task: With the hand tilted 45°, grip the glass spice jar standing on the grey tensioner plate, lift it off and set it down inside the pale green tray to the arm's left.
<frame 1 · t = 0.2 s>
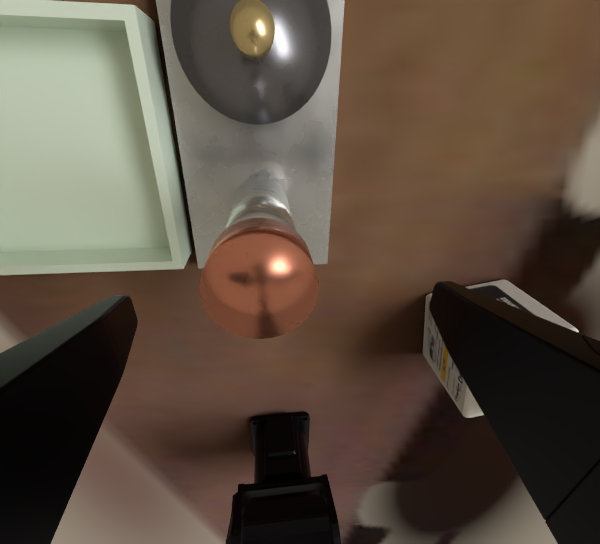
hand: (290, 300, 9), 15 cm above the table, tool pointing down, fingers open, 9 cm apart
container: (459, 316, 30), on the table
tray: (63, 154, 19), on the table
glass spice jar: (261, 202, 21), point 1 cm above the table, touching tensioner plate
tensioner plate: (258, 139, 20), on the table
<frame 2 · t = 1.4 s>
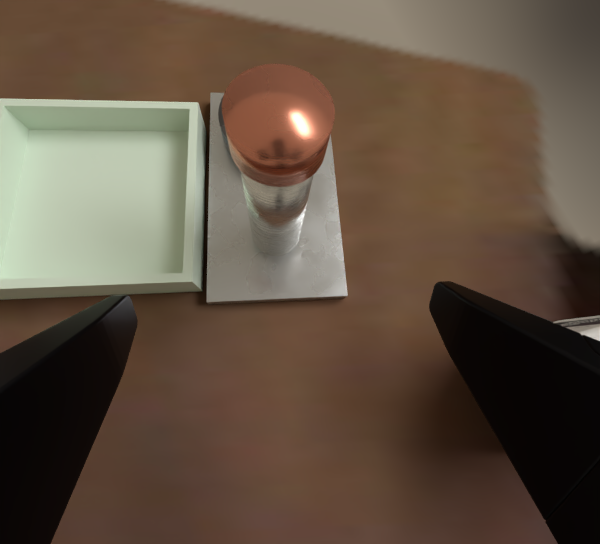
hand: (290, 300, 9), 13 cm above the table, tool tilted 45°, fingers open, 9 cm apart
container: (535, 382, 23), on the table
tray: (111, 206, 23), on the table
glass spice jar: (275, 233, 23), point 1 cm above the table, touching tensioner plate
tensioner plate: (273, 192, 25), on the table
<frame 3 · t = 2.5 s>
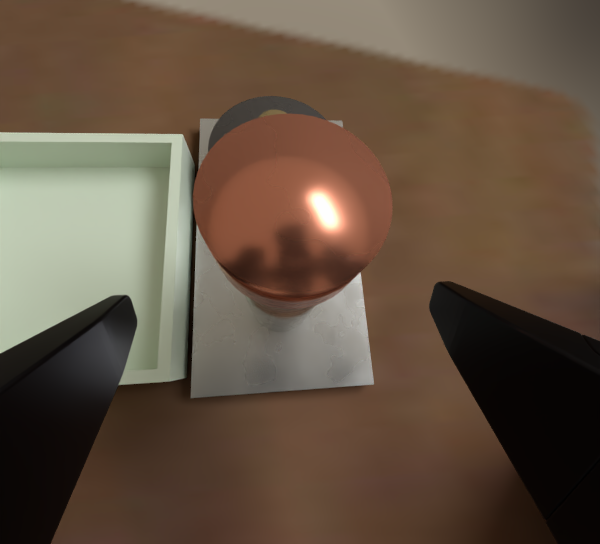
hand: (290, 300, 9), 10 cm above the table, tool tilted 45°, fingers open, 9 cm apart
tray: (72, 264, 18), on the table
glass spice jar: (281, 300, 18), point 1 cm above the table, touching tensioner plate
tensioner plate: (277, 243, 20), on the table
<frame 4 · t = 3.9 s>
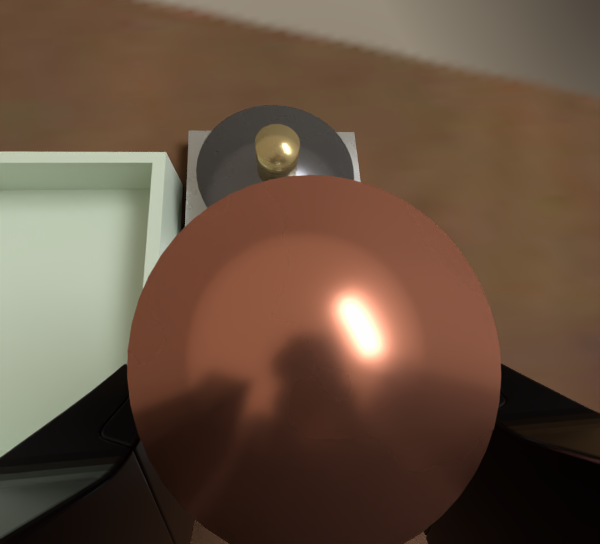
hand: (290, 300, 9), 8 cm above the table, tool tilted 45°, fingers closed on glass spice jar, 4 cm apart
tray: (35, 307, 15), on the table
glass spice jar: (284, 352, 15), point 1 cm above the table, touching gripper, tensioner plate
tensioner plate: (280, 278, 17), on the table
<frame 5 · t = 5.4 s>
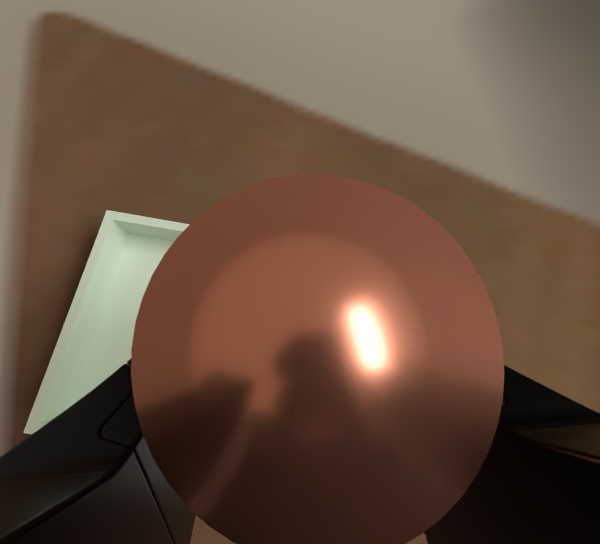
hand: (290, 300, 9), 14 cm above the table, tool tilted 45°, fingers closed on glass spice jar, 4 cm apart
tray: (193, 331, 22), on the table
glass spice jar: (285, 352, 15), point 7 cm above the table, touching gripper
when the fingers open (9 cm above the table, at t = 7.0 s): glass spice jar drops 1 cm, resting on tray.
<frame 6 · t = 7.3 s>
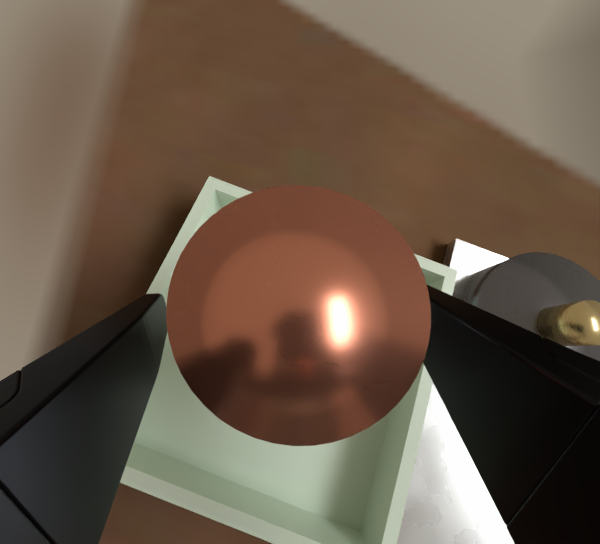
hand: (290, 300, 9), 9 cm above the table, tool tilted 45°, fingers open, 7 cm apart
tray: (282, 352, 17), on the table
glass spice jar: (283, 352, 16), point 1 cm above the table, touching tray
tensioner plate: (497, 415, 17), on the table
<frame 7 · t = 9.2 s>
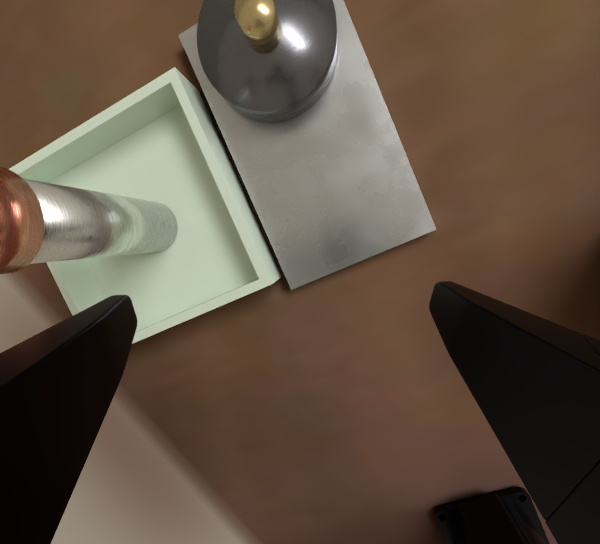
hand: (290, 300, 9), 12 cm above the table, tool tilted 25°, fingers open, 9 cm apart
tray: (159, 227, 22), on the table
glass spice jar: (154, 227, 22), point 1 cm above the table, touching tray
tensioner plate: (306, 135, 20), on the table
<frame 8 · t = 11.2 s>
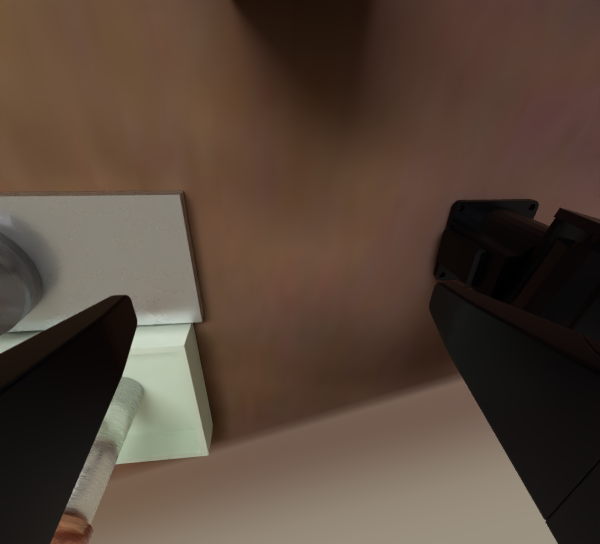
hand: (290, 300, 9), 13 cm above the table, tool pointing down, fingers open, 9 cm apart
tray: (124, 384, 27), on the table
glass spice jar: (122, 390, 27), point 1 cm above the table, touching tray
tensioner plate: (62, 263, 21), on the table
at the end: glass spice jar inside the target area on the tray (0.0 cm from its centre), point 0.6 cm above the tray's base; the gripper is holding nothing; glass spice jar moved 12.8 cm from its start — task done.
